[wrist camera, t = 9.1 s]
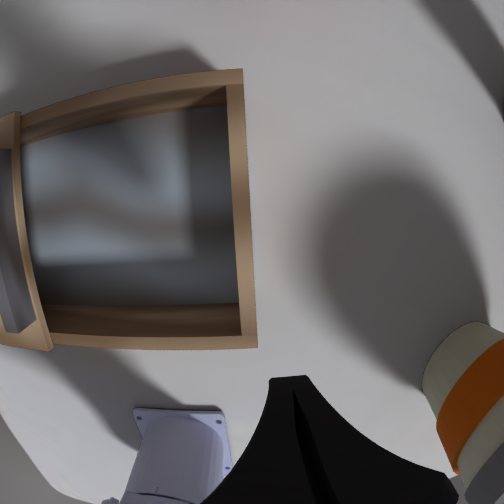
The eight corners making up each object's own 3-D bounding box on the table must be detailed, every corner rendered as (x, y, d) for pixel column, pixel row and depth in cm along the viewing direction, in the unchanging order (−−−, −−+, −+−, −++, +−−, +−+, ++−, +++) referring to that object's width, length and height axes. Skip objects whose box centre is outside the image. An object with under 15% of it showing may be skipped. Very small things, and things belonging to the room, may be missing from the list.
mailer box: (255, 309, 21) (258, 347, 16) (22, 310, 21) (-12, 334, 16) (243, 95, 17) (242, 68, 13) (-1, 146, 17) (-42, 145, 12)
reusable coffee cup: (519, 315, 22) (613, 383, 7) (463, 414, 25) (526, 500, 10) (447, 289, 21) (583, 387, 6) (381, 412, 23) (443, 541, 9)
